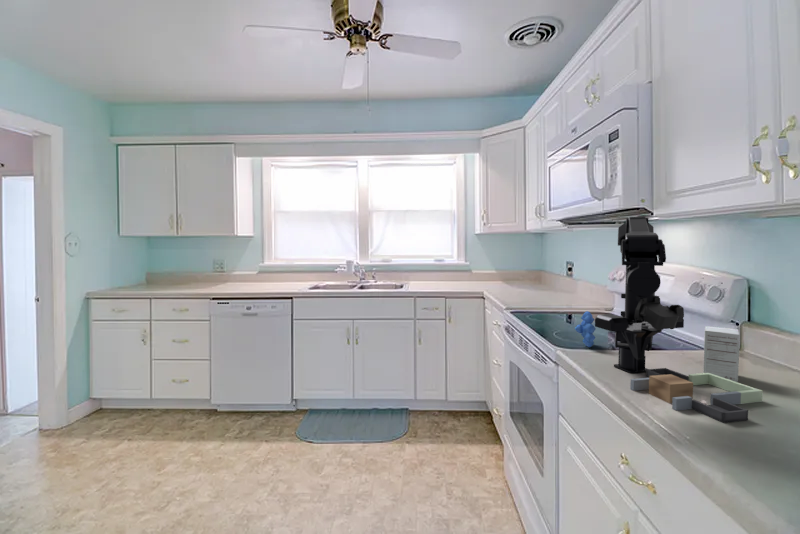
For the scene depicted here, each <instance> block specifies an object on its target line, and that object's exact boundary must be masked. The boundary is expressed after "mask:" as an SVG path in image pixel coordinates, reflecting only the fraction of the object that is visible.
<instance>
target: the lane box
mask: <svg viewBox="0 0 800 534" xmlns="http://www.w3.org/2000/svg"><path fill="white" fill-rule="evenodd" d="M669 374H672V375H674V376H677V377H679V378H682V379H685V380H687V381H690V382H693V386H701V385H710V386H713V387H716V388H719V389H722V390H724V391H725V392H724V391H723V392H716V393H710V403H709V404H706V403H703V402H700V401H698V400H696V399H693V400H692V397H689V396H682V397H673V399H672V403H671V405H672V406H671V407H672V408H671V409H672V410H674V411H683V410H684V411H685V410H693V411H695V412H698V413H700V414H703V415H705V416H707V417H709V418H712V419H714V420H716V421H718V422H720V423H723V424H727V423H735V422H743V421H744V422H745V421H749V410H748V409H746V408H743V407H740V406H737V405H741V404H742V405H743V404H753V403H762V402H763V396H764V395H763V394H764V393H763V392H764V391H763V390H762V389H758V388H756V387H752V386H749V385H746V384H743V383H740V382H739V381H738V382H735V381H732V380H729V379H726V378H723V377H720V376H717V375H714V374H711V373H703V372H700V373H699V372H698V373H690V374H688V375H686V374H683V373H680V372H677V371H674V370H671V369H669V368H666V367H660V368H651V369H650V368H647V369H646V372H645V377H639V378H630V383H629V384H630V385H629V386H630V388H629V389H630V390H631V391H642V390H643V391H644V390H649V376H654V375H669Z"/></svg>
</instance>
